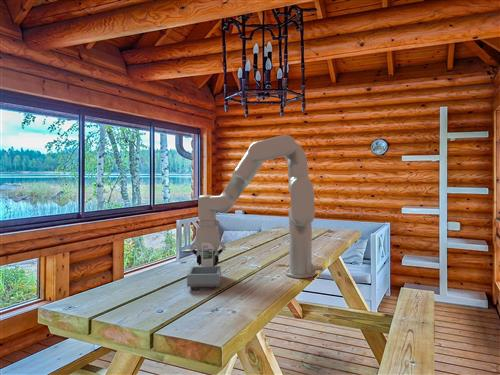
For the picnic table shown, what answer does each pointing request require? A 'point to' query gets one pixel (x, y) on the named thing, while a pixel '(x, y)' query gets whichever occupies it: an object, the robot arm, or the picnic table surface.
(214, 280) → the grey square cubby
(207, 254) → the syrup box
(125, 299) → the picnic table surface
